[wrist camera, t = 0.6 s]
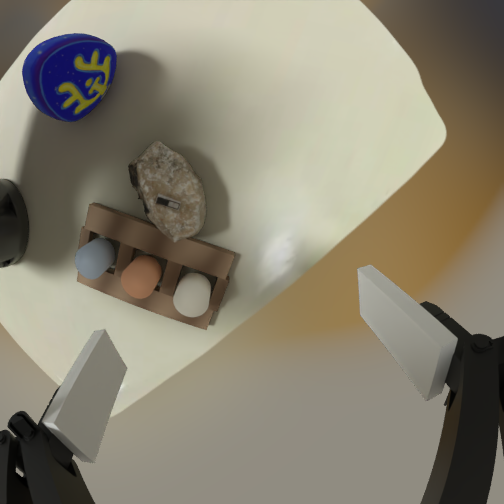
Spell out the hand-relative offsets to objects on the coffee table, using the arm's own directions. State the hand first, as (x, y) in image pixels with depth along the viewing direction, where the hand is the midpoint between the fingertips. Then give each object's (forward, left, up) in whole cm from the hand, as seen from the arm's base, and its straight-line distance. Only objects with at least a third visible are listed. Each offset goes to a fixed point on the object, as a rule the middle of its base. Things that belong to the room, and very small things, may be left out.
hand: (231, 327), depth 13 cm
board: (-9, -10, -24) cm, 27 cm away
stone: (-9, +2, -24) cm, 26 cm away
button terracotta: (-9, -10, -23) cm, 26 cm away
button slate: (-16, -10, -22) cm, 29 cm away
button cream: (-2, -10, -22) cm, 25 cm away
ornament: (-26, +12, -24) cm, 37 cm away
